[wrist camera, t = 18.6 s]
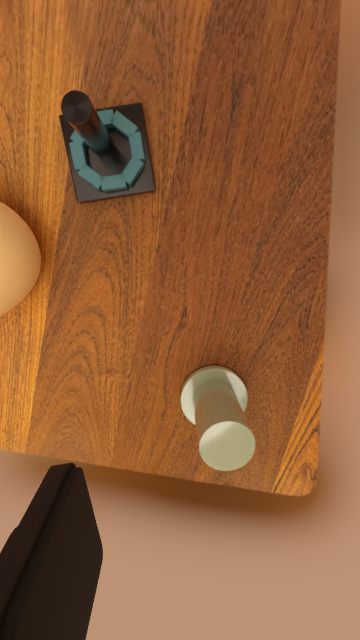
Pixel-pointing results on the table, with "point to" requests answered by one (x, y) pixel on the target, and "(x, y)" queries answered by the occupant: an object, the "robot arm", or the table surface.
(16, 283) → the sculpture
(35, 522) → the robot arm
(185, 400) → the ring stand
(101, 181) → the ring
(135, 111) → the black peg stand
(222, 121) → the table surface
